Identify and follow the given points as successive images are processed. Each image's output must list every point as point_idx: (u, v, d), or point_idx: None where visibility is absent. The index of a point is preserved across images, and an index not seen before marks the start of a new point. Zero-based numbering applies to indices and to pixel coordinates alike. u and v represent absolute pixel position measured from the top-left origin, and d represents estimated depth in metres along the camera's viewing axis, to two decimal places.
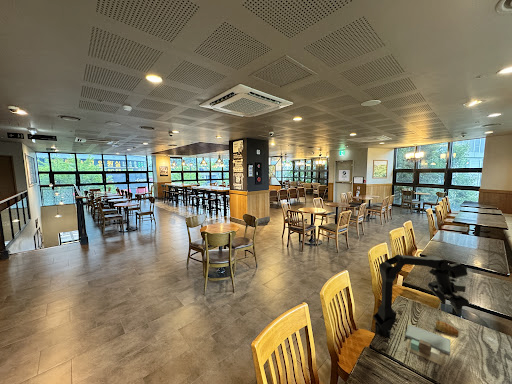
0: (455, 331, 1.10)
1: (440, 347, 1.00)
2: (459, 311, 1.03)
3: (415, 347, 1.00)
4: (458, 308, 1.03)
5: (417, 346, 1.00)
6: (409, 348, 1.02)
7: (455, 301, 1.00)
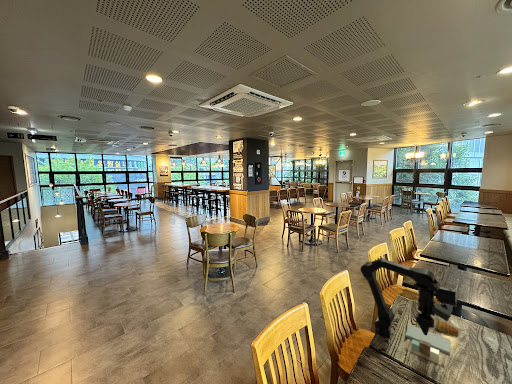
0: (455, 331, 1.10)
1: (440, 347, 1.00)
2: (425, 332, 0.94)
3: (415, 347, 1.00)
4: (424, 328, 0.94)
5: (418, 346, 1.00)
6: (409, 348, 1.02)
7: (417, 316, 0.93)
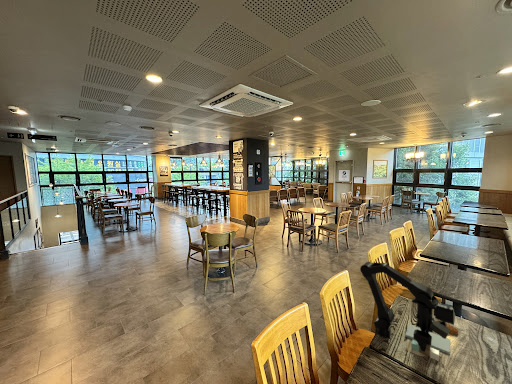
0: (455, 330, 1.10)
1: (440, 347, 1.00)
2: (423, 348, 0.95)
3: (415, 348, 1.00)
4: (422, 344, 0.95)
5: (418, 347, 0.99)
6: (409, 348, 1.01)
7: (415, 333, 0.94)
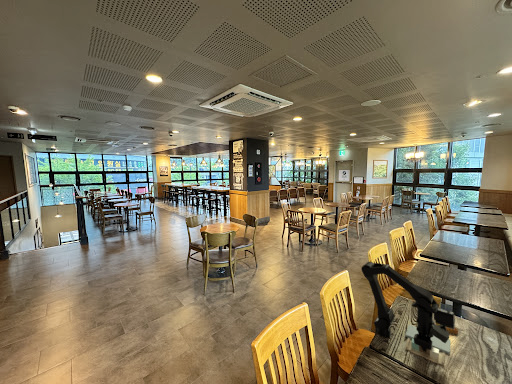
0: (455, 330, 1.11)
1: (440, 347, 1.00)
2: (424, 348, 0.97)
3: (415, 347, 1.00)
4: None
5: (418, 345, 1.00)
6: (409, 347, 1.02)
7: (415, 337, 0.94)
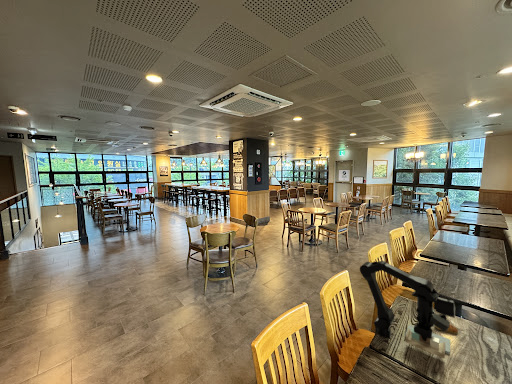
0: (454, 329, 1.11)
1: None
2: (424, 338, 0.97)
3: (415, 337, 1.00)
4: None
5: (418, 335, 0.99)
6: (409, 337, 1.01)
7: (415, 326, 0.94)
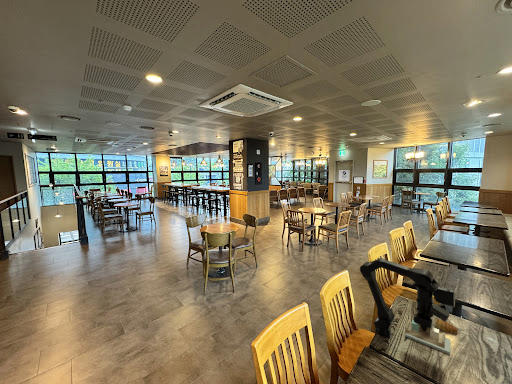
0: (454, 329, 1.11)
1: (440, 347, 1.00)
2: (424, 328, 0.97)
3: (415, 327, 1.00)
4: (423, 324, 0.96)
5: (418, 326, 0.99)
6: (409, 328, 1.01)
7: (415, 316, 0.93)
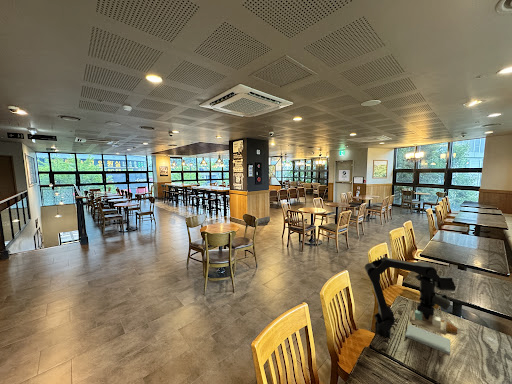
0: (454, 328, 1.12)
1: (440, 347, 1.00)
2: (427, 316, 1.04)
3: (419, 317, 1.07)
4: (426, 313, 1.04)
5: (421, 315, 1.07)
6: (413, 317, 1.09)
7: (418, 305, 1.01)
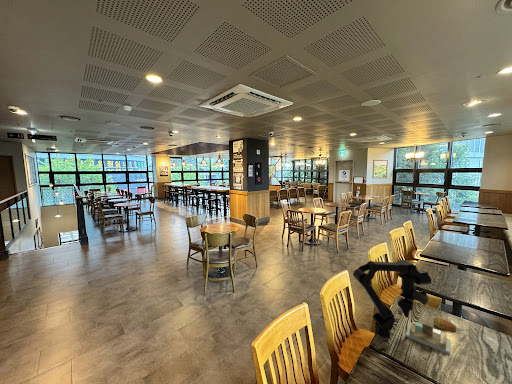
0: (453, 326, 1.13)
1: (440, 347, 1.00)
2: (406, 314, 1.08)
3: (419, 329, 1.08)
4: (405, 311, 1.07)
5: (421, 328, 1.07)
6: (413, 330, 1.09)
7: (399, 300, 1.07)
